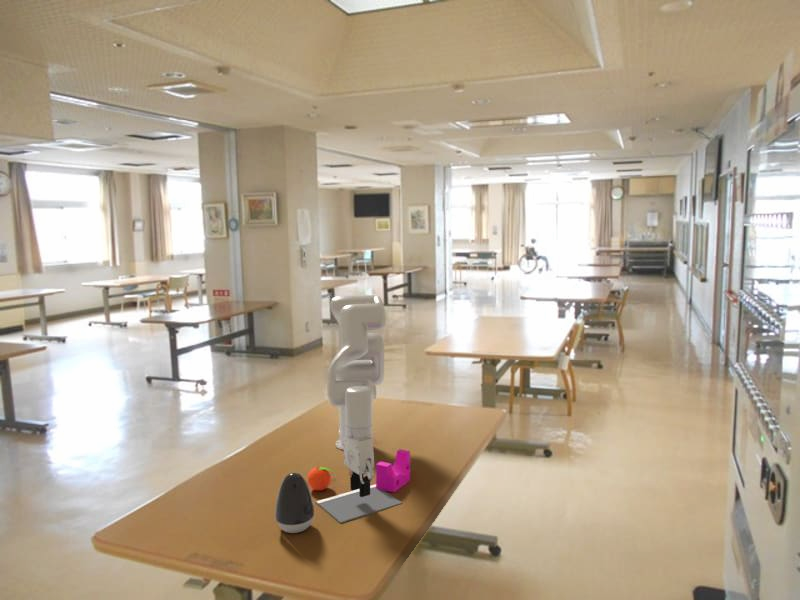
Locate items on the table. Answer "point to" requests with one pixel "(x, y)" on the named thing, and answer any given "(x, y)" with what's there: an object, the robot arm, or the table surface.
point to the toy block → (393, 472)
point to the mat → (357, 504)
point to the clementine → (319, 478)
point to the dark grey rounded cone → (294, 504)
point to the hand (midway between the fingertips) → (360, 491)
